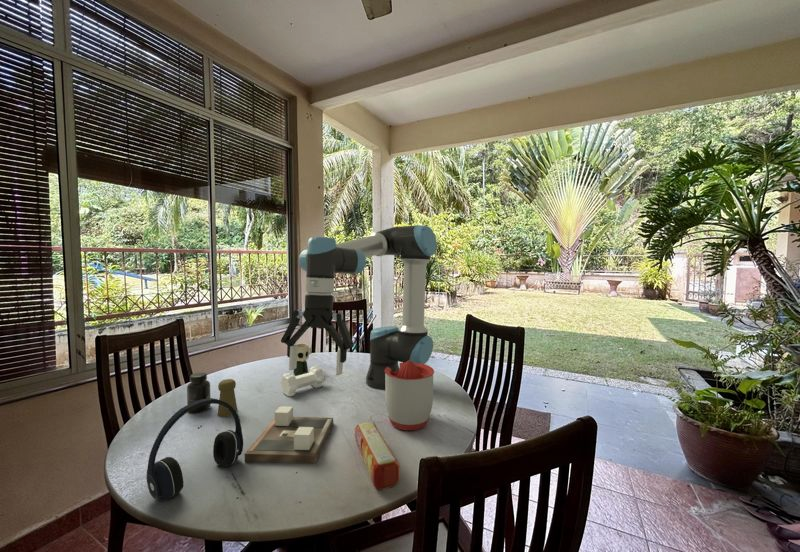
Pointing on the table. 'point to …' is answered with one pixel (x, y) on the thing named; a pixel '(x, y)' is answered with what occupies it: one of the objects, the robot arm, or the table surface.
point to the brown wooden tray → (289, 442)
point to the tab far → (283, 416)
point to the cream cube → (303, 438)
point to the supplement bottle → (198, 391)
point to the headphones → (167, 471)
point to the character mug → (302, 358)
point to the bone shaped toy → (302, 380)
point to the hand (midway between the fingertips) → (315, 371)
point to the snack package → (377, 456)
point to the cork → (227, 397)
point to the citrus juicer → (409, 395)
